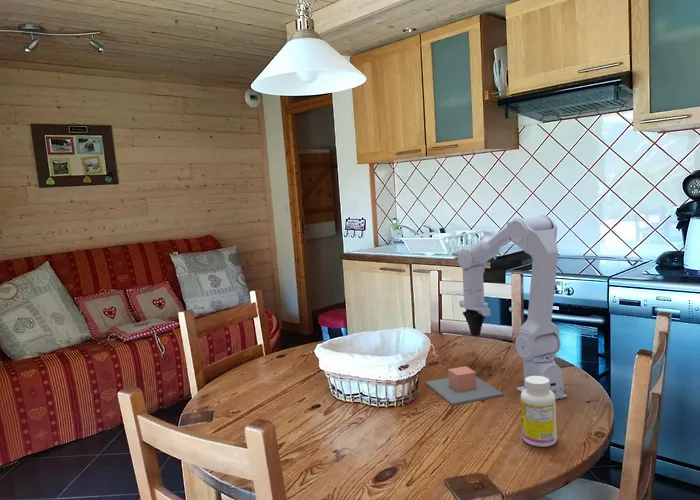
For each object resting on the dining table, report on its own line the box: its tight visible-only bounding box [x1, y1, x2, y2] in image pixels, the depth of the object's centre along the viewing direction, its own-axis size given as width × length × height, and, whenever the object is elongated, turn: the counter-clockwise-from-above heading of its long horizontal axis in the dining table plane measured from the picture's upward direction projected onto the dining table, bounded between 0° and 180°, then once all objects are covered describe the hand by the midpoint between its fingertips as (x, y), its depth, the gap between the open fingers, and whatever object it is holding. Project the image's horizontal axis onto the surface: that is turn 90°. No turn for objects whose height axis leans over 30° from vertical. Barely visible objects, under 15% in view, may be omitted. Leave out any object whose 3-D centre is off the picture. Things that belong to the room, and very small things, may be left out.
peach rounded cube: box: [447, 365, 477, 392], centre depth 134 cm, size 5×5×4 cm
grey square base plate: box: [425, 376, 504, 406], centre depth 135 cm, size 16×14×4 cm
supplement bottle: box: [520, 376, 558, 448], centre depth 105 cm, size 7×7×13 cm
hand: (475, 335), depth 150 cm, fingers closed
